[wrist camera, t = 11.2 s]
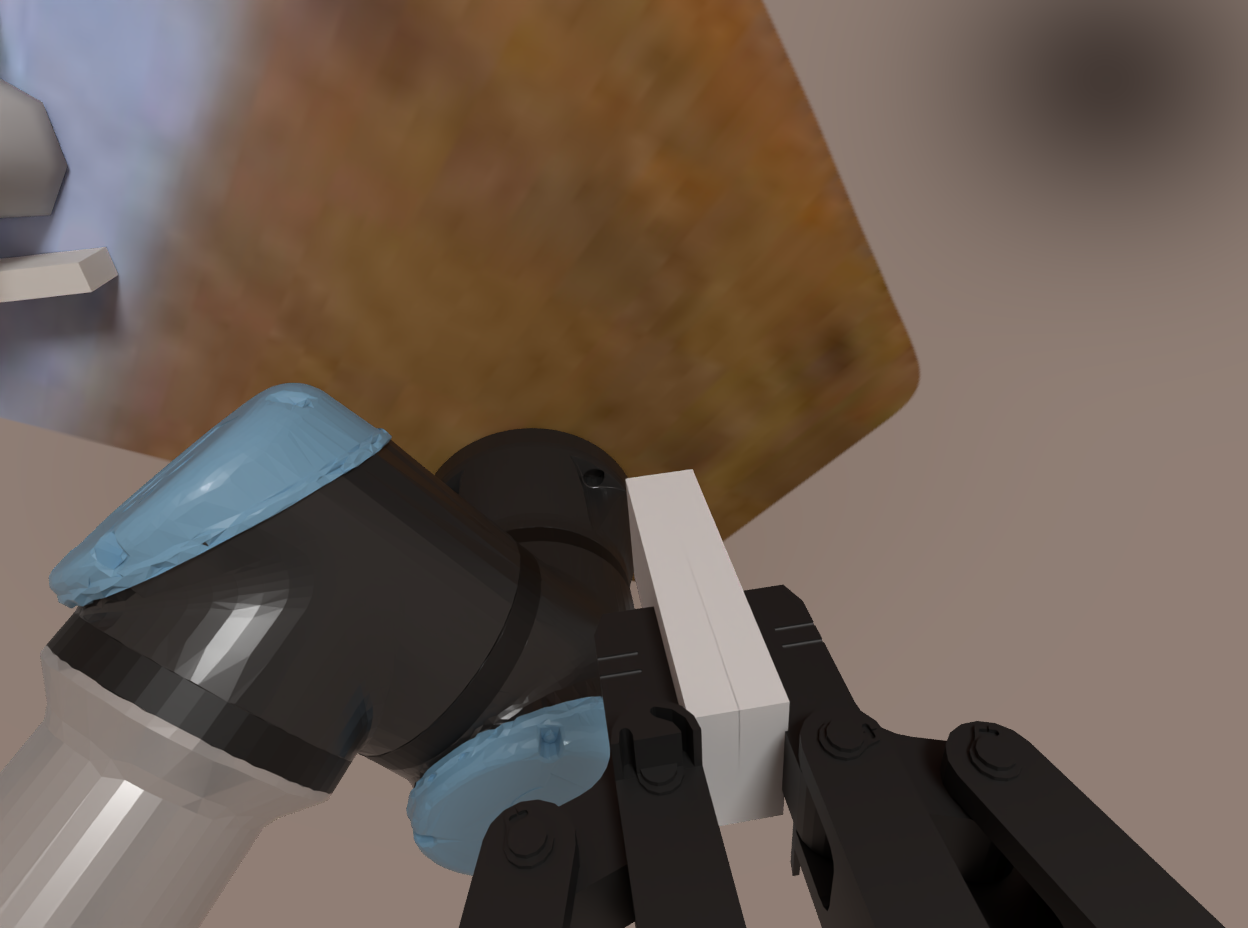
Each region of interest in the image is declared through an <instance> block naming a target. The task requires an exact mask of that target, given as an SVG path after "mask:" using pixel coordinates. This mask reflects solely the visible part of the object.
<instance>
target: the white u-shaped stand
mask: <svg viewBox="0 0 1248 928" xmlns="http://www.w3.org/2000/svg"><path fill="white" fill-rule="evenodd" d="M117 275H118V273H117V271H116V268H115V266H114V264H113V262H112V259H111V257H110V255H109V252H108V250H107V248H106V247H101V248H92V249H83V250H74V251H65V252H56V253H46V254H37V255H28V256H19V257H10V258H1V259H0V302H9V301H18V300H27V299H35V298H44V297H53V296H62V295H70V294H79V293H88V292H93V291H94V290H96V289H97V288H99V287H100V286H102V285H103V284H105V283H107V282H108V281H110V280H111V279H113V278H114V277H116V276H117Z"/></svg>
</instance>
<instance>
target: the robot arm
mask: <svg viewBox="0 0 1248 928" xmlns="http://www.w3.org/2000/svg"><path fill="white" fill-rule="evenodd" d="M391 437H392V436H391V435H390V434H389V433H388V432H386V431H385V430H384V429H377V428H375V427H373V426H372V425H370V424H369V423H367V422H366V421H365V420H363V419H362V418H360V417H359V416H358V415H356V414H355V413H353V412H352V411H350V410H349V409H348V408H346V407H345V406H343V405H342V404H341V403H339V402H338V401H336V400H335V399H333V398H332V397H331V396H329V395H328V394H326V393H325V392H324V391H322V390H320V389H318V388H315V387H313V386H310V385H306V384H301V383H286V384H280V385H277V386H274V387H271V388H268V389H266V390H264V391H263V392H261V393H259V394H258V395H256V396H254V397H253V398H252V399H250V400H249V401H247V402H246V403H245V404H243V405H242V406H241V407H239V408H238V409H237V410H235V411H234V412H233V413H231V414H230V415H229V416H227V417H226V418H225V419H223V420H222V421H221V422H220V423H218V424H217V425H216V426H215V427H213V428H212V429H211V430H209V431H208V432H207V433H206V434H204V435H203V436H202V437H201V438H200V439H198V440H197V441H196V442H195V443H193V444H192V445H191V446H190V447H189V448H187V449H186V450H185V451H184V452H183V453H181V454H180V455H179V456H178V457H177V458H175V459H174V460H173V461H172V462H170V463H169V464H168V465H167V466H166V467H165V468H163V469H162V470H161V471H160V472H159V473H158V474H156V475H155V476H154V477H153V478H152V479H150V480H149V481H148V482H147V483H146V484H144V485H143V486H142V487H141V488H140V489H139V490H138V491H137V492H135V493H134V494H133V495H132V496H131V497H130V498H129V499H127V500H126V501H125V502H124V503H123V504H122V505H121V506H119V507H118V508H117V509H116V510H115V511H114V512H113V513H111V514H110V515H109V516H108V517H107V518H106V519H105V520H104V521H103V522H102V523H101V524H100V525H99V526H97V527H96V529H95V530H94V531H93V532H92V533H91V534H90V535H88V536H87V538H85V540H84V541H83V542H82V543H80V544H79V545H78V546H77V547H75V548H74V549H73V550H71V551H70V552H69V553H68V554H67V555H66V556H65V557H64V558H63V559H62V560H61V561H60V563H58V564H57V566H56V567H55V568H54V569H53V570H52V572H51V574H50V576H49V585H50V588H51V589H52V590H53V591H54V592H55V593H56V594H57V597H58V601H59V603H62V604H63V605H65V606H67V607H69V608H73V607H75V606H76V605H77V606H78V607H77V609H76V611H75V612H74V613H73V615H72V616H71V617H70V618H69V619H68V621H67V622H66V623H65V624H64V625H63V627H61V629H60V630H59V631H58V632H57V633H56V634H55V636H54V637H53V638H52V639H51V640H50V641H49V643H48V644H47V645H46V646H45V647H44V649H43V650H42V651H41V653H40V657H41V664H42V670H43V678H44V684H45V691H46V699H47V707H46V712H45V718H44V721H43V722H42V723H41V724H40V725H39V727H38V728H37V729H36V730H35V732H34V733H33V734H32V735H31V736H30V738H29V739H28V740H27V741H26V743H25V744H24V745H23V746H22V747H21V749H20V750H19V751H18V752H17V754H16V755H15V756H14V757H13V758H12V759H11V761H10V762H9V763H8V764H7V765H6V767H5V768H4V769H3V770H2V772H1V773H0V928H199V927H200V925H201V924H202V922H203V921H204V919H205V917H206V916H207V914H208V913H209V911H210V910H211V908H212V907H213V905H214V904H215V902H216V901H217V899H218V897H219V896H220V894H221V893H222V891H223V890H224V888H225V887H226V885H227V884H228V882H229V880H230V879H231V877H232V876H233V874H234V873H235V871H236V870H237V868H238V867H239V865H240V863H241V862H242V860H243V859H244V857H245V856H246V854H247V853H248V851H249V850H250V848H251V846H252V845H253V843H254V842H255V840H256V839H257V837H258V836H259V834H260V832H261V831H262V829H263V828H264V827H266V826H267V825H269V824H270V823H272V822H273V821H275V820H277V819H278V818H281V817H283V816H286V815H289V814H292V813H295V812H298V811H301V810H303V809H306V808H309V807H312V806H315V805H318V804H320V803H323V802H325V801H327V800H328V799H329V797H330V796H331V794H332V793H333V791H334V789H335V788H336V786H337V785H338V783H339V781H340V780H341V778H342V777H343V775H344V773H345V772H346V770H347V768H348V767H349V765H350V764H351V762H352V760H353V759H354V758H355V756H356V755H357V753H359V754H360V755H362V756H365V757H367V758H368V759H370V760H372V761H374V762H376V763H378V764H380V765H382V766H383V767H385V768H387V769H389V770H391V771H393V772H395V773H396V774H398V775H400V776H402V777H404V778H405V779H407V780H408V781H409V782H410V783H411V785H412V787H413V790H412V791H411V792H410V795H409V799H408V805H407V815H408V818H409V819H410V821H411V826H412V828H413V834H414V840H415V843H416V844H417V846H418V847H419V849H420V850H421V852H422V853H423V854H424V855H425V856H427V857H428V858H430V859H431V860H432V861H433V862H435V863H436V864H438V865H440V866H442V867H444V868H447V869H449V870H452V871H455V872H458V873H462V874H467V875H471V876H473V877H472V881H471V885H470V889H469V892H468V896H467V900H466V903H465V907H464V911H463V914H462V918H461V922H460V926H459V928H625V927H626V926H628V925H630V924H631V923H633V922H635V927H636V928H746V925H745V921H744V918H743V914H742V910H741V907H740V903H739V899H738V895H737V892H736V888H735V884H734V881H733V877H732V873H731V869H730V866H729V862H728V858H727V855H726V851H725V847H724V843H723V839H722V836H721V832H720V828H719V826H722V825H728V824H733V823H739V822H745V821H750V820H756V819H761V818H767V817H773V816H778V815H783V806H784V797H785V800H786V802H787V805H788V808H789V811H790V813H791V816H792V819H793V837H792V851H791V867H792V875H793V876H795V875H799V871H800V866H801V868H802V871H803V874H804V877H805V880H806V883H807V886H808V889H809V892H810V894H811V897H812V900H813V903H814V906H815V909H816V912H817V915H818V918H819V920H820V923H821V926H822V928H1225V927H1224V926H1223V925H1222V924H1221V923H1220V922H1219V921H1218V920H1217V919H1216V918H1215V917H1214V916H1213V915H1211V914H1210V913H1209V912H1208V911H1207V910H1206V909H1205V908H1204V907H1203V906H1202V905H1201V904H1200V903H1199V902H1198V901H1197V900H1196V899H1195V898H1194V897H1192V896H1191V895H1190V894H1189V893H1188V892H1187V891H1186V890H1185V889H1184V888H1183V887H1182V886H1181V885H1180V884H1179V883H1178V882H1177V881H1176V880H1175V879H1173V878H1172V877H1171V876H1170V875H1169V874H1168V873H1167V872H1166V871H1165V870H1164V869H1163V868H1162V867H1161V866H1160V865H1159V864H1158V863H1157V862H1155V861H1154V860H1153V859H1152V858H1151V857H1150V856H1149V855H1148V854H1147V853H1146V852H1145V851H1144V850H1143V849H1142V848H1141V847H1140V846H1139V845H1138V844H1137V843H1136V842H1134V841H1133V840H1132V839H1131V838H1130V837H1129V836H1128V835H1127V834H1126V833H1125V832H1124V831H1123V830H1122V829H1121V828H1120V827H1119V826H1118V825H1116V824H1115V823H1114V822H1113V821H1112V820H1111V819H1110V818H1109V817H1108V816H1107V815H1106V814H1105V813H1104V812H1103V811H1102V810H1101V809H1100V808H1099V807H1098V806H1096V805H1095V804H1094V803H1093V802H1092V801H1091V800H1090V799H1089V798H1088V797H1087V796H1086V795H1085V794H1084V793H1083V792H1082V791H1081V790H1079V789H1078V788H1077V787H1076V786H1075V785H1074V784H1073V783H1072V782H1071V781H1070V780H1069V779H1068V778H1067V777H1066V776H1065V775H1064V774H1063V773H1062V772H1061V771H1060V770H1059V769H1057V768H1056V767H1055V766H1054V765H1053V764H1052V763H1051V762H1050V761H1049V760H1048V759H1047V758H1046V757H1045V756H1044V755H1043V754H1042V753H1040V752H1039V751H1038V750H1037V749H1036V748H1035V747H1034V746H1033V745H1032V744H1031V743H1030V742H1029V741H1027V740H1026V739H1025V738H1023V737H1022V736H1020V735H1019V734H1017V733H1016V732H1015V731H1013V730H1011V729H1008V728H1006V727H1003V726H1001V725H998V724H996V723H989V722H980V721H975V722H970V723H965V724H961V725H960V726H958V727H957V728H956V729H954V730H953V731H952V732H950V734H949V737H948V740H947V741H943V740H934V739H926V738H917V737H910V736H905V735H900V734H896V733H893V732H891V731H888V730H886V729H883V728H882V727H880V725H879V724H878V723H877V722H876V721H875V720H874V719H872V718H871V717H869V716H868V715H866V714H865V713H863V712H862V711H860V709H859V708H858V706H857V705H856V703H855V702H854V700H853V698H852V696H851V694H850V692H849V690H848V688H847V686H846V684H845V682H844V680H843V678H842V676H841V674H840V673H839V671H838V669H837V667H836V665H835V663H834V661H833V659H832V657H831V655H830V653H829V651H828V649H827V647H826V645H825V643H824V642H822V638H821V636H820V634H819V632H818V630H817V628H816V626H814V624H813V620H812V618H811V616H810V614H809V612H808V610H807V608H806V606H805V604H804V602H803V601H802V600H801V599H800V598H799V597H797V596H796V595H795V594H794V593H792V592H791V591H790V590H789V589H788V588H786V587H785V586H784V585H778V586H771V587H765V588H759V589H752V590H745V591H743V589H742V587H741V584H740V582H739V580H738V577H737V575H736V573H735V570H734V568H733V565H732V563H731V561H730V558H729V556H728V554H727V551H726V549H725V546H724V544H723V541H722V539H721V537H720V534H719V532H718V529H717V527H716V525H715V522H714V520H713V518H712V515H711V513H710V510H709V508H708V506H707V503H706V501H705V498H704V496H703V494H702V491H701V489H700V486H699V484H698V482H697V479H696V477H695V475H694V472H693V470H692V469H691V470H684V471H677V472H670V473H663V474H656V475H649V476H641V477H634V478H628V477H627V476H626V474H625V473H624V471H623V470H622V468H621V467H620V466H619V465H618V464H617V463H616V461H615V460H614V459H613V458H611V457H610V456H609V455H608V454H607V453H606V452H604V451H603V450H602V449H600V448H599V447H597V446H596V445H594V444H592V443H590V442H589V441H586V440H584V439H582V438H580V437H577V436H575V435H571V434H568V433H565V432H560V431H555V430H549V429H537V428H528V429H515V430H509V431H504V432H499V433H496V434H492V435H489V436H486V437H484V438H481V439H479V440H477V441H475V442H473V443H471V444H469V445H467V446H465V447H464V448H462V449H461V450H459V451H458V452H457V453H455V454H454V455H453V456H452V457H450V458H449V459H448V460H447V461H446V462H445V463H444V464H443V465H442V466H441V467H440V469H439V470H438V471H437V472H436V474H435V475H433V474H432V473H431V472H430V471H428V470H427V469H426V468H425V467H423V466H422V465H421V464H420V463H418V462H417V461H416V460H415V459H413V458H412V457H411V456H410V455H409V454H407V453H406V452H405V451H404V450H403V449H401V448H400V447H399V446H398V445H396V444H395V443H394V442H393V441H392V440H390V439H391ZM633 573H634V576H635V580H636V584H637V589H638V593H639V597H640V601H641V606H642V608H640V609H635V608H634V604H633V600H632V595H631V591H630V584H631V580H632V576H633Z"/></svg>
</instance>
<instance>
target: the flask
mask: <svg viewBox="0 0 1248 928" xmlns="http://www.w3.org/2000/svg"><path fill="white" fill-rule="evenodd" d="M66 169H67V163H66V161H65V158H64V156H63V153H62V151H61V148H60V145H59V143H58V140H57V138H56V135H55V133H54V130H53V128H52V125H51V123H50V120H49V118H48V115H47V113H46V110H45V108H44V105H43V103H42V102H41V101H39V100H37V99H36V98H34V97H32V96H30V95H29V94H27V93H25V92H23V91H21V90H20V89H18V88H16V87H14V86H13V85H11V84H9V83H7V82H5V81H4V80H2V79H0V218H11V217H29V216H46V215H51V213H52V210H53V207H54V204H55V201H56V198H57V195H58V192H59V189H60V186H61V184H62V181H63V178H64V175H65V172H66Z"/></svg>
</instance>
